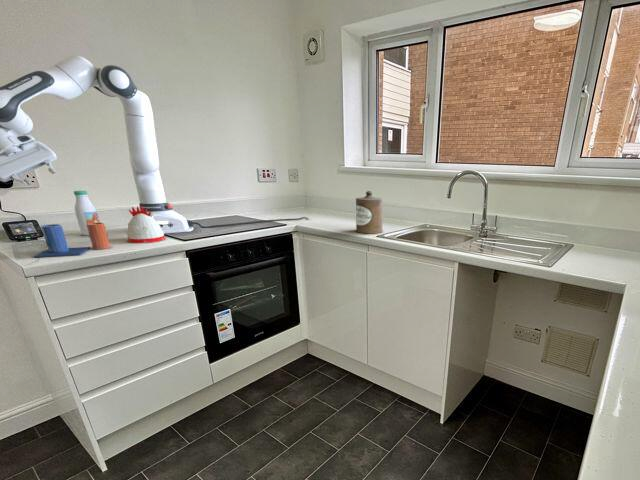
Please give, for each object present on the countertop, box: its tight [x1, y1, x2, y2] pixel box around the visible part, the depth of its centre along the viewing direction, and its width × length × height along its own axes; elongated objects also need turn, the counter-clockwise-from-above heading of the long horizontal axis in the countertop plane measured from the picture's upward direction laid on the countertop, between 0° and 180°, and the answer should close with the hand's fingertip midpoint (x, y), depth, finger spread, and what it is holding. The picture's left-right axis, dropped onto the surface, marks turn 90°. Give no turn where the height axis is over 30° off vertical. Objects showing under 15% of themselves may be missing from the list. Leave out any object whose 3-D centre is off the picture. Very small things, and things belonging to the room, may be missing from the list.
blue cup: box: [40, 223, 70, 253], centre depth 133 cm, size 6×6×10 cm
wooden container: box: [355, 190, 383, 234], centre depth 195 cm, size 15×15×22 cm
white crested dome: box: [126, 206, 166, 244], centre depth 158 cm, size 14×14×15 cm
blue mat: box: [34, 246, 91, 259], centre depth 135 cm, size 13×12×1 cm
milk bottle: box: [73, 190, 101, 236], centre depth 164 cm, size 8×8×20 cm
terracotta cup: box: [86, 221, 111, 250], centre depth 142 cm, size 6×6×10 cm
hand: (41, 178), depth 136 cm, fingers open, 8 cm apart
